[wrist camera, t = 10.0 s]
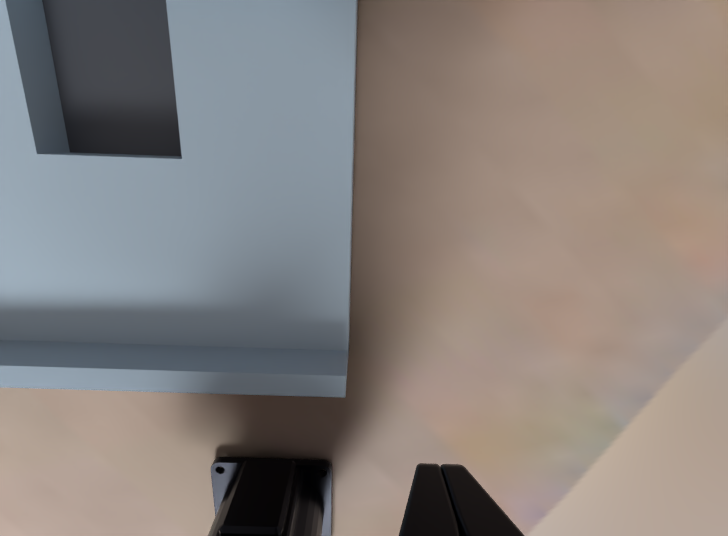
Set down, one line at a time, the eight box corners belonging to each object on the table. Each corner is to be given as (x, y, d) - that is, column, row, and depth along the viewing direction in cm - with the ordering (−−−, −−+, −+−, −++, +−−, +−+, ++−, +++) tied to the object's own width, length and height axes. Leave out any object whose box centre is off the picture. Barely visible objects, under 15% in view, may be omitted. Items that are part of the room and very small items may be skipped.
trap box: (348, 348, 20) (345, 397, 16) (-179, 332, 20) (-308, 377, 16) (358, -30, 15) (356, -86, 11) (-341, -57, 15) (-582, -124, 11)
